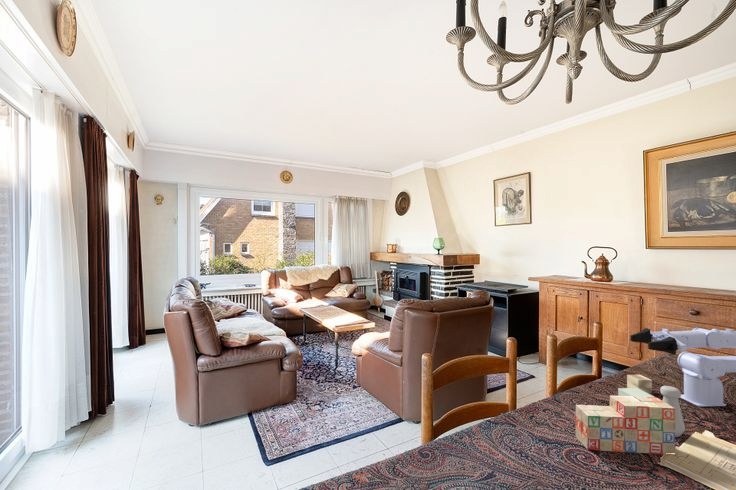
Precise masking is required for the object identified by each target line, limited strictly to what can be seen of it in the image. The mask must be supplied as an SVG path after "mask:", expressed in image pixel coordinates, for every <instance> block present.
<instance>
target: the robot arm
mask: <svg viewBox="0 0 736 490" xmlns="http://www.w3.org/2000/svg"><path fill="white" fill-rule="evenodd" d="M629 337H630V338H629V340H630V342H632V343H642V344H647V349H648V350H650V351H657V352H662V353H667V354H670V355H673V356H676V354H677V351H679V352H680V353H679V355H678V356H677V365H678V366H679V367H680V368H681V371H682V373H683V394H682V393H681V397H680V398H679V399H682V400H684V401H686V402H689V403H691V404H693V405H695V406H697V407H726V406H727V404H726V403H724V385H723V383H722V381H721V379H719V377H724V376H725V375H726V373H736V355H726V356H725V355H721V356H720V355H715V356H713V355H712V356H711V355H705V354H700V353H693V352H691V351H687V349H694V348H695V349H696V348H697V349H698V348H709V349H713V350H716V351H717V350H720V349H726V348H727V349H736V331H735V330H734V329H731V328H725V330H721V329H718V328H712V329H710V330H709V329H705V328H702V327H700V328H699V327H694V328H693V329H692V330H679V331H677V330H675V331H670V330H669V329H667V328H662V330H660V331H651V329H650V328H647V327H644V328H643V329H641V330H640V331H638V332H636V333H633V334H630V335H629Z"/></svg>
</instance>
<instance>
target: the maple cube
mask: <svg viewBox="0 0 736 490" xmlns="http://www.w3.org/2000/svg"><path fill="white" fill-rule="evenodd" d="M652 385H653V380H652V379H650V378H648V377H646V376H644V375H642V374H627V375H626V388H639V389H640V390H642V391H644V392H646V393H648V394H650V395H652V393H653V386H652Z"/></svg>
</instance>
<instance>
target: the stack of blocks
mask: <svg viewBox="0 0 736 490" xmlns="http://www.w3.org/2000/svg"><path fill="white" fill-rule="evenodd" d="M654 397H655V396H654ZM654 397H645V396H618V395H611V394H610V395H609V405H594V404H593V405H592V404H591V405H590V404H587V405H585V404H575V418H574V419H575V438H577V439H578V441H579V442H580V443H581V444H582V446H584V447H585V448H586V450H590V451H592V450H593V451H603V452H618V453H638V454H652V455H653V454H655V455H667V454H666V453H675V454H676V437H675V429H676V428H675V427H676V425H675V424H676V423H675V422H676V421H675V408H673V407H672V406H670V405H669V404H667V403H665V402H664V401H662V400H663V399H662V400H661V399H660V398H659V397H655V398H654Z"/></svg>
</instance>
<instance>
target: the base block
mask: <svg viewBox="0 0 736 490" xmlns="http://www.w3.org/2000/svg"><path fill="white" fill-rule="evenodd" d="M617 393H618V394H617V396H645V397H654V398H656V396H654V395H652V394H648V393H646V392H644V391H642V390H640V389H639V388H627V387H625V388H624V387H621V388H619V387H618V388H617Z"/></svg>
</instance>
